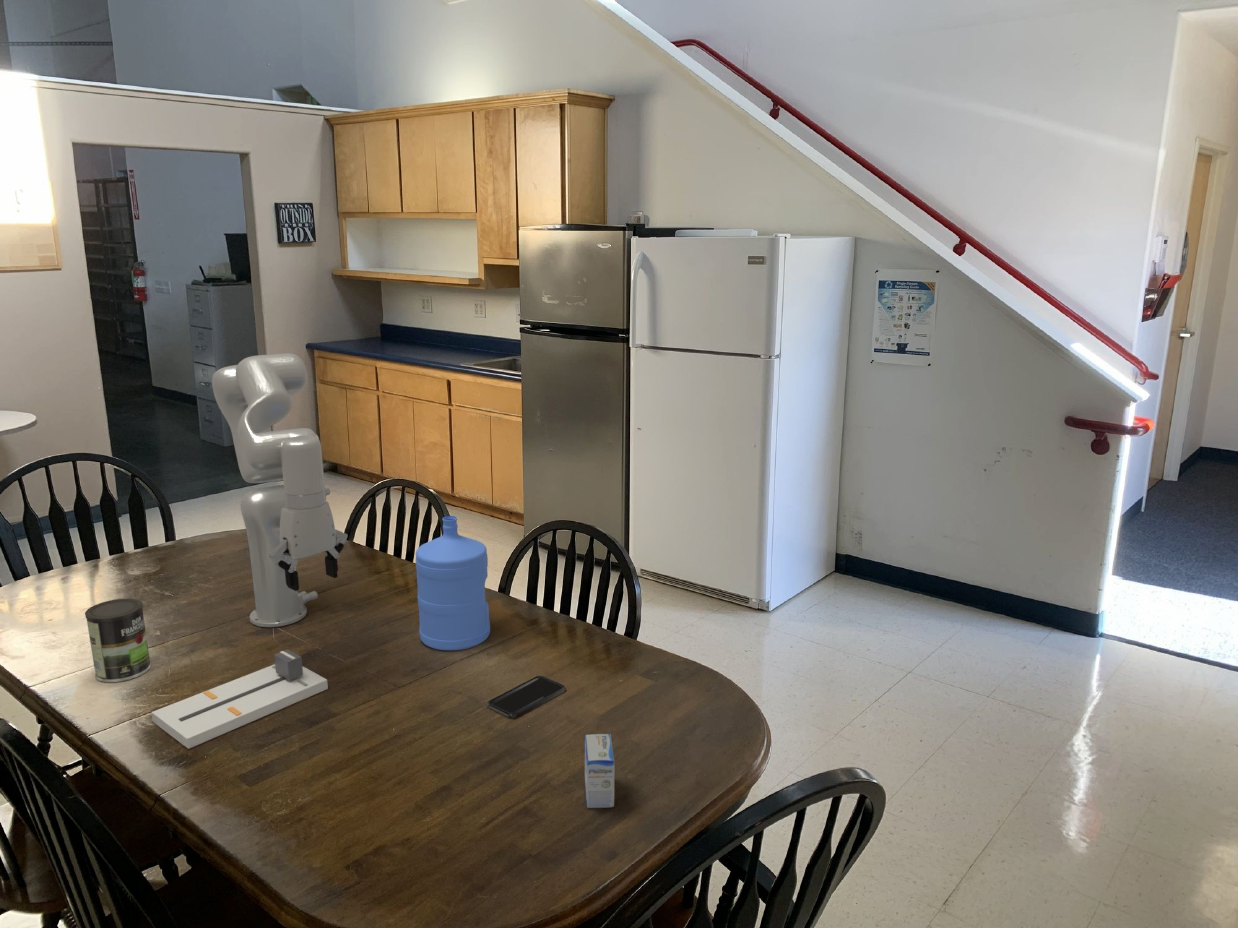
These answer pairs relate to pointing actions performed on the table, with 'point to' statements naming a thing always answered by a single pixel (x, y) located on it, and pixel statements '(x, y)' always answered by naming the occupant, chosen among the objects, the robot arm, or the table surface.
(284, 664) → the fader knob
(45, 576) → the table surface
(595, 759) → the medicine box
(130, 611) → the coffee can
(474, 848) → the table surface
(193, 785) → the table surface
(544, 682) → the phone
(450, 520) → the water jug
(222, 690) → the fader board
